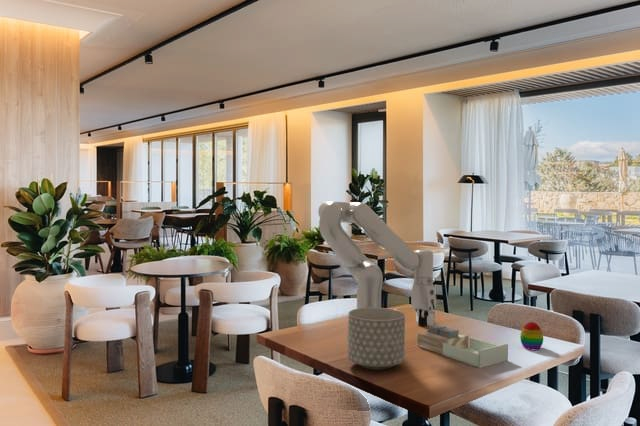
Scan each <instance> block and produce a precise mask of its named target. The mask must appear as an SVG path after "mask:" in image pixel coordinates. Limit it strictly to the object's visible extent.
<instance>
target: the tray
mask: <svg viewBox="0 0 640 426" xmlns="http://www.w3.org/2000/svg"><path fill="white" fill-rule="evenodd" d="M508 355H509V344H508V343H502V344H499V345H498V344H496V343H492V342H489V341H486V340H482V339H479V338H474V337H471V336H470V337H469V346H468V348H465V349H462V348H459V347H455V346H452V345H449V344H446V343H443V355H442V356H443V357H446V358H449V359H453V360H454V361H458V362H460V363H463V364H466V365H469V366H472V367H475V368H479V369H483V368H486V367H489V366H492V365H496V364H497V365H498V364H500V363H505V362H507V361H508V360H509V359H508V358H509V356H508Z"/></svg>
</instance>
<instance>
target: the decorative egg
mask: <svg viewBox="0 0 640 426" xmlns="http://www.w3.org/2000/svg"><path fill="white" fill-rule="evenodd" d="M543 334H544V333H543V331H542V329H541V327H540V326H539V324H537V323H536V322H534V321H529V322H527V323H526V324H524V326H523V327H522V328H521V331H520V336H519V337H520V342H521V343H520V344H521V345H522V346H523V348H525V347H526V348H525V349H527V348H529V349H528V350H532V349H537V350H539V349H540V348H541V347H542V346H543V343H544V335H543Z"/></svg>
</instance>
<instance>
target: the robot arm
mask: <svg viewBox="0 0 640 426" xmlns="http://www.w3.org/2000/svg"><path fill="white" fill-rule="evenodd" d="M318 216H319V221H318V223H319V224H318V225H319V233H320V234H321V238H323V240H324V241H325V243H326V244H327V245H328V246H329V248H330V249H331V250H332V251H333V252H334V254H335V257H336V258H337V260H338V262H340V264H341V265H342V266H343V268H345V269H346V270H347V271H348V273H350V274H351V276H352V277H353V278H354V279H355V280H356V281H357V292H356V309H359V308H382V289H383V281H384V280H383V279H384V278H383V277H384V276H383V272H382V270H381V268H380V266H378V265H377V264H376V263H374V262H372V261H370V259H369V258H368V257H367V256H366V255H365V253H364V252H363V250H362V248H361V247H360V246H359V245H358V244H357V243H356V242H355V240H354V239H353V238H351V237H350V235H349V234H348V233H347V231H345V229H344V228H343V226H342V223H346V224H347V223H349V224H350V223H354V224H355V226H357V227H358V228H359V229H360V230H361V231H362V232H363V233H364V234H365V235H366V236H367V237H368V239H370V240H371V241H372V242H373V243H374V244H376V245H377V247H379V248H381V249H383V250H384V251H386V253H388V254H389V255H390V256H391V257H392V258H393V262H394V264H395V265H396V266H397V267H399V268H401V269H403V270H406V271H409V272H410V271H413V283H412V287H411V294H410V295H411V298H410V303H411V307H412V310H413V311H415V312H417V315H418V316H419V320H418V323H417V324H418V327H420V328H423V327H428V325H427V317H428V315H429V314H433V313H434V311H433V310H436V309H437V293H436V287H435V285H434V284H433V283H434V282H435V281H434V254H433V253H434V252H433V251H432V250H431V249H430V250H429V249H416V250H415V249H413V248H412V247H410V245H409V244H407V242H406V241H404V240H403V238H402V237H400V235H398V234H397V233H396V232H395V231H394V230H393V229H392V228H391V227H390V226H388V225H387V224H386V223H385V221H384V220H383V219H382V218H381V217H380V216H379V215H378V214H377V213H376V212H375V211H374V210H373V209H372V208H371V207H370V206H369V205H368V204H366V202H358V201H356V202H355V201H353V202H352V201H329V200H327V201H324V202H322V203H321V204H320V205H319V207H318ZM346 340H347V341H348V334H347V335H346Z"/></svg>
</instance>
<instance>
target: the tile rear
mask: <svg viewBox="0 0 640 426" xmlns="http://www.w3.org/2000/svg"><path fill="white" fill-rule="evenodd" d="M443 328H448V327H447V326H445V325H442V324H438V323H436V324H435V323H434V325H427V331H428V332H429V333H432V334H436V335H439V329H443Z"/></svg>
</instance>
